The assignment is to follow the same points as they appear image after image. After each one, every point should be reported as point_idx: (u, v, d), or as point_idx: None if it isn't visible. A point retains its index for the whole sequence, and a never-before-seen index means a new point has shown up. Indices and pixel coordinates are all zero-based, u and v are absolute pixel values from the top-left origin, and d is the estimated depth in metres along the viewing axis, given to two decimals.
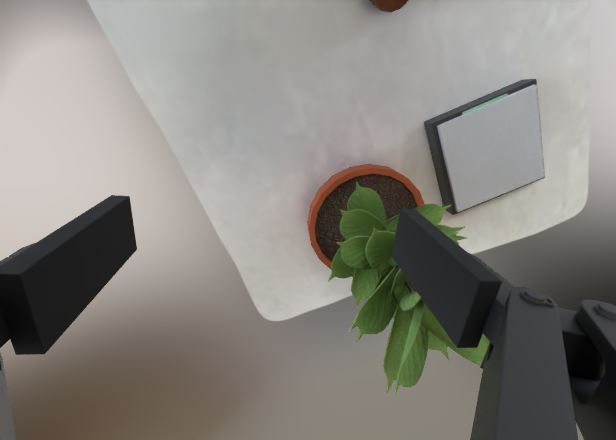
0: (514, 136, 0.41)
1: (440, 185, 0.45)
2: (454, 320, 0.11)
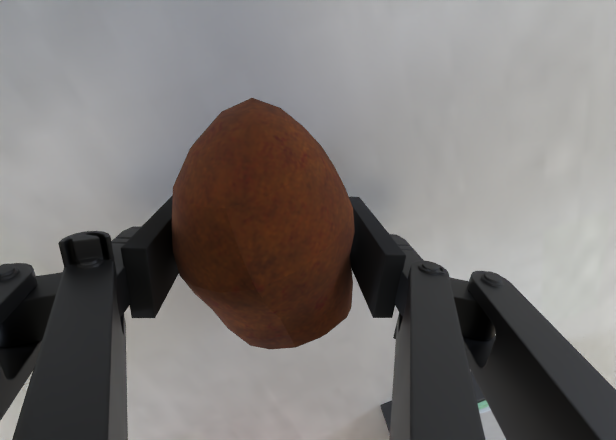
0: None
1: None
2: (372, 293, 0.12)
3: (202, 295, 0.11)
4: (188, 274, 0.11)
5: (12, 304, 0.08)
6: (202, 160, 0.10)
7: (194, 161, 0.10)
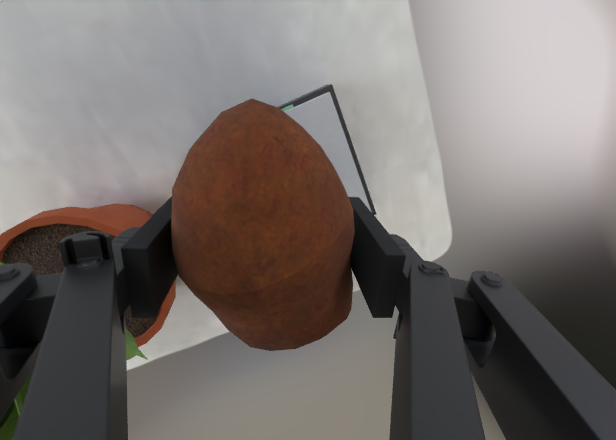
0: None
1: None
2: (371, 293, 0.12)
3: (202, 296, 0.11)
4: (188, 275, 0.11)
5: (12, 304, 0.08)
6: (202, 161, 0.10)
7: (194, 162, 0.10)
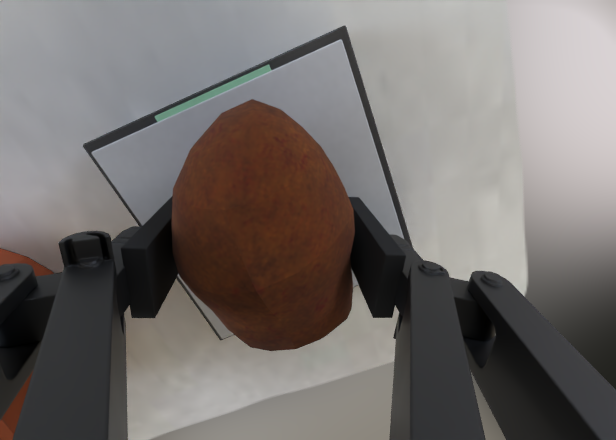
0: None
1: None
2: (372, 293, 0.12)
3: (202, 297, 0.11)
4: (188, 276, 0.11)
5: (12, 304, 0.08)
6: (202, 162, 0.10)
7: (194, 163, 0.10)
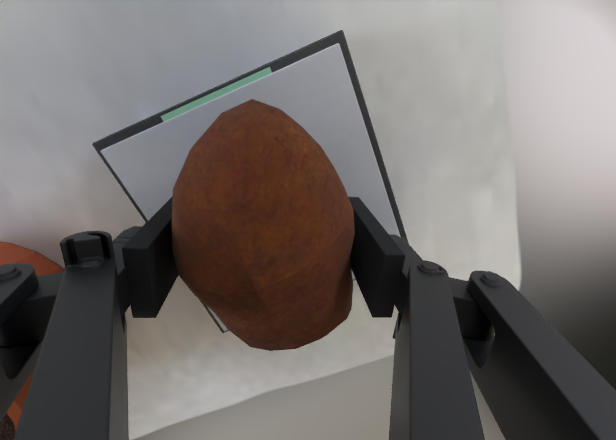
0: None
1: None
2: (371, 292, 0.12)
3: (202, 296, 0.11)
4: (188, 275, 0.11)
5: (13, 304, 0.08)
6: (202, 161, 0.10)
7: (194, 163, 0.10)
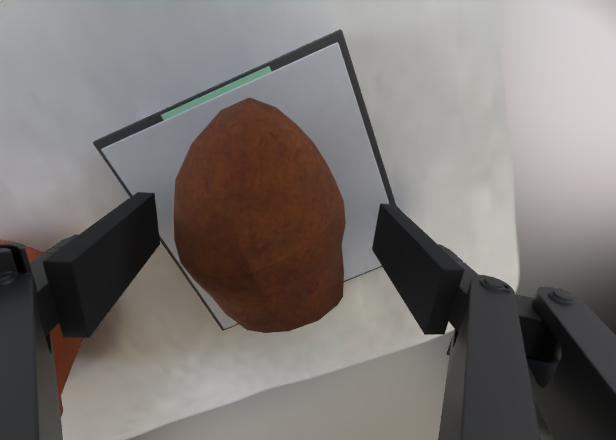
0: None
1: None
2: (422, 308, 0.11)
3: (202, 280, 0.12)
4: (189, 260, 0.11)
5: None
6: (203, 154, 0.10)
7: (195, 155, 0.11)
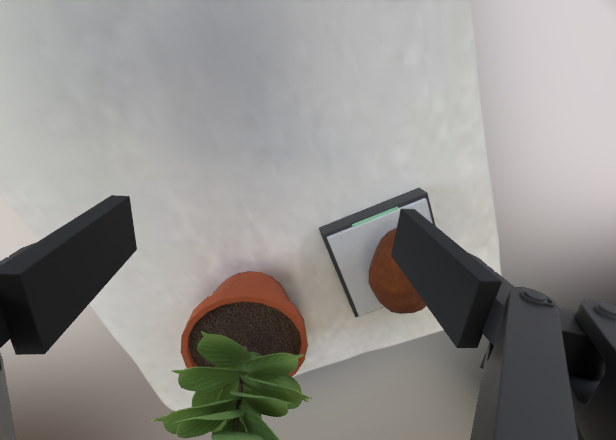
0: None
1: None
2: (454, 320, 0.11)
3: (387, 294, 0.34)
4: (384, 287, 0.34)
5: None
6: None
7: None
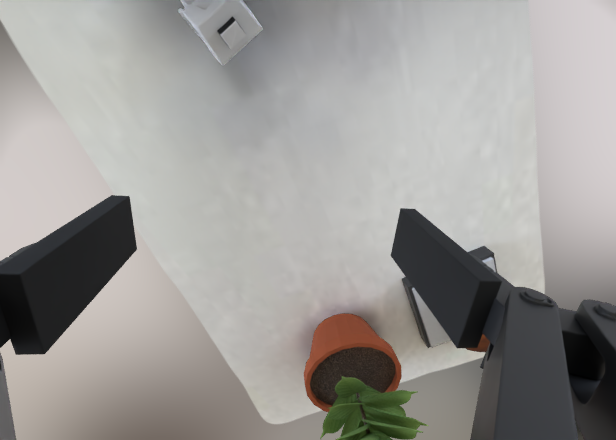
0: None
1: (417, 323, 0.53)
2: (454, 320, 0.11)
3: None
4: None
5: None
6: None
7: None
